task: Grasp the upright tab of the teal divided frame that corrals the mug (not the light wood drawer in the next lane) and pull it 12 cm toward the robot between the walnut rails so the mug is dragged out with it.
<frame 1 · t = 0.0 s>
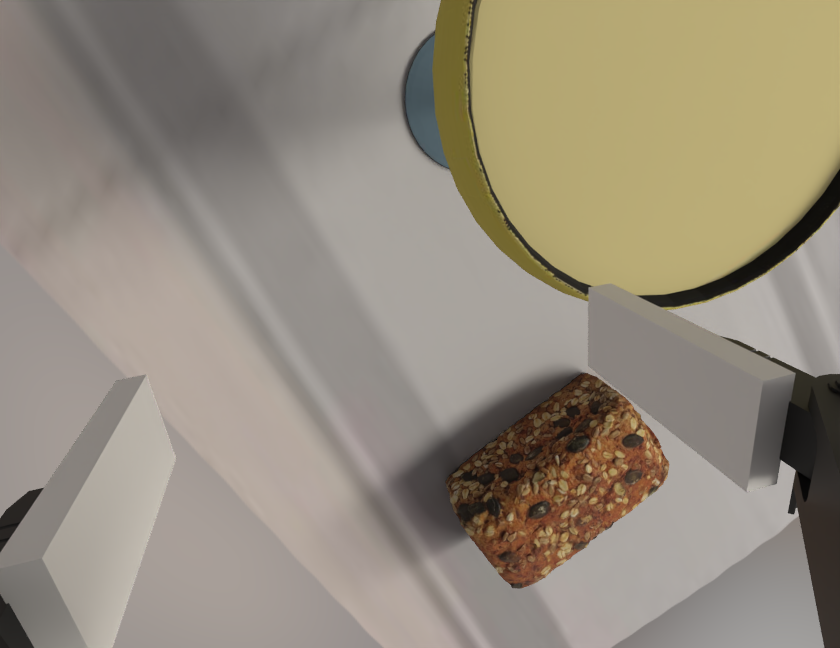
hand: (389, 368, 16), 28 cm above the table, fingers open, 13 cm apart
cocktail glass: (472, 100, 41), on the table
bread: (534, 450, 54), on the table
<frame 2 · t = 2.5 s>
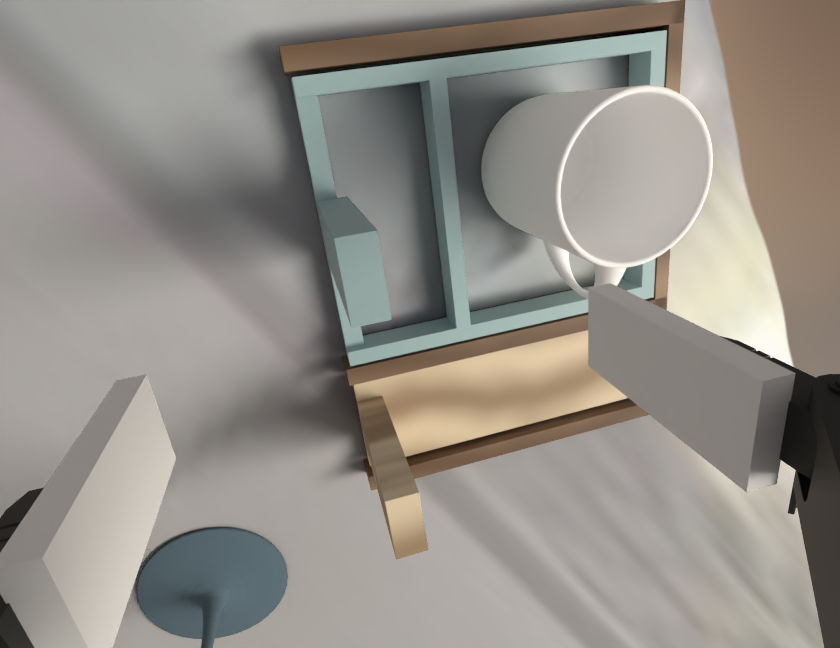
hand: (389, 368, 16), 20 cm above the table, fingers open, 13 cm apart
cocktail glass: (215, 581, 41), on the table
light wood drawer: (537, 422, 35), point 6 cm above the table, slide at 0.0 cm
mug: (537, 190, 36), resting in teal divided frame
lane rails: (499, 261, 37), on the table
teal divided frame: (528, 215, 29), point 6 cm above the table, slide at 0.0 cm
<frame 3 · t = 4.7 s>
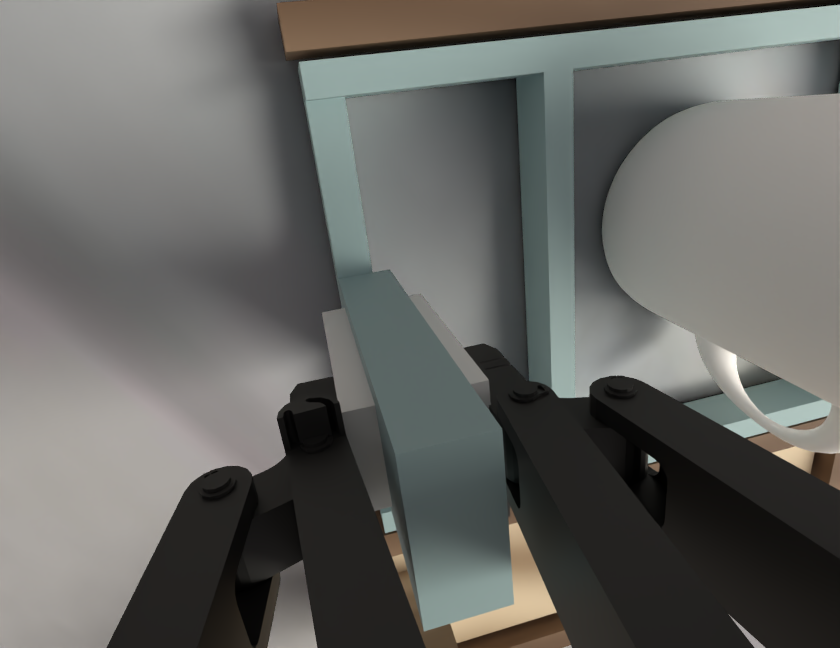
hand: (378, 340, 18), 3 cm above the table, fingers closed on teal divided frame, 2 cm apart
light wood drawer: (681, 623, 22), point 6 cm above the table, slide at 0.0 cm
mug: (680, 250, 23), resting in teal divided frame
lane rails: (615, 357, 24), on the table
teal divided frame: (716, 314, 16), point 6 cm above the table, slide at 0.0 cm, touching gripper
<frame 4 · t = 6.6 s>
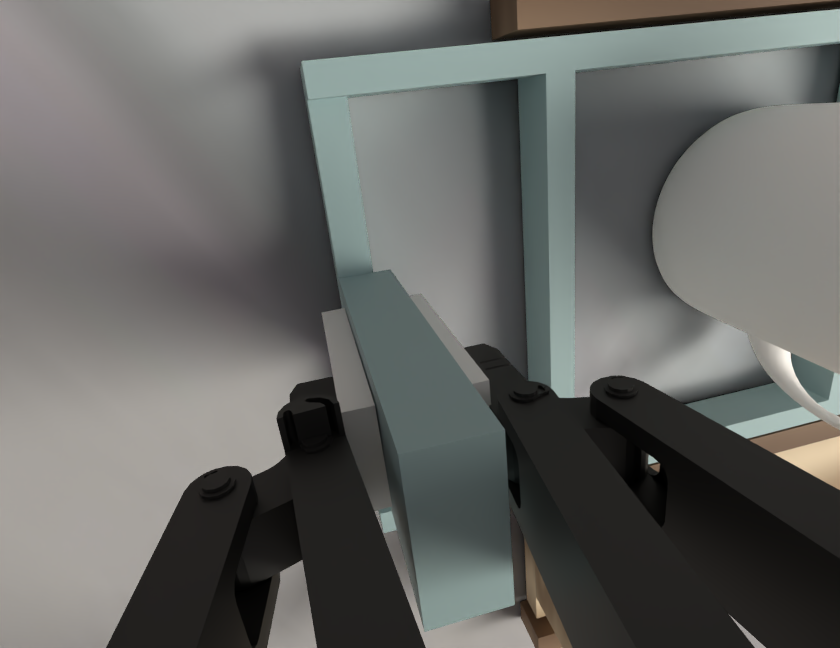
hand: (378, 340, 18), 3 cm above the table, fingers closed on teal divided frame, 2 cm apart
light wood drawer: (817, 580, 23), point 6 cm above the table, slide at 0.0 cm
mug: (728, 250, 23), resting in teal divided frame
lane rails: (744, 330, 25), on the table
teal divided frame: (716, 316, 16), point 6 cm above the table, slide at 6.9 cm, touching gripper, mug
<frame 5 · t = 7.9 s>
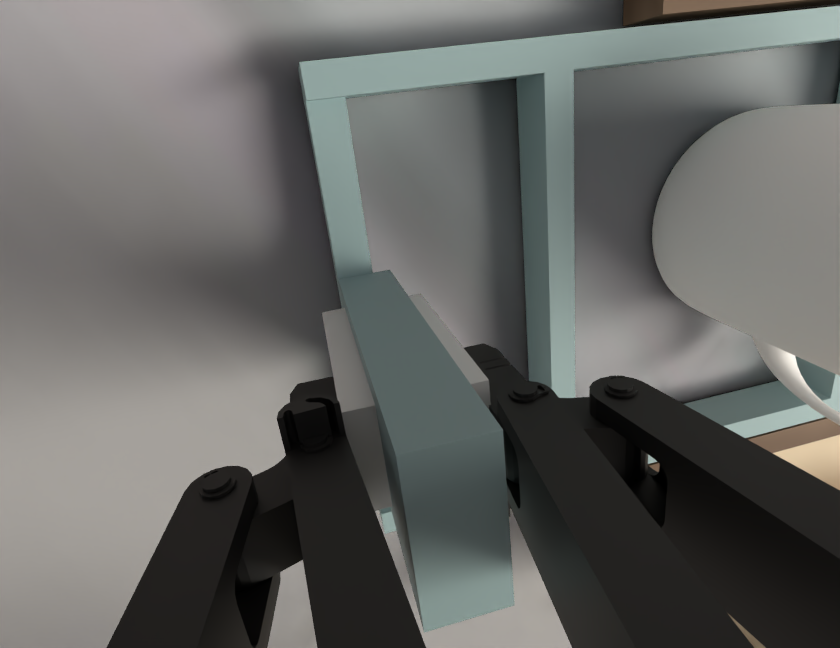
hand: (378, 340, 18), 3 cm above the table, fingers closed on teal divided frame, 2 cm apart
mug: (729, 251, 23), resting in teal divided frame
lane rails: (833, 309, 26), on the table
teal divided frame: (717, 315, 16), point 6 cm above the table, slide at 11.9 cm, touching gripper, mug
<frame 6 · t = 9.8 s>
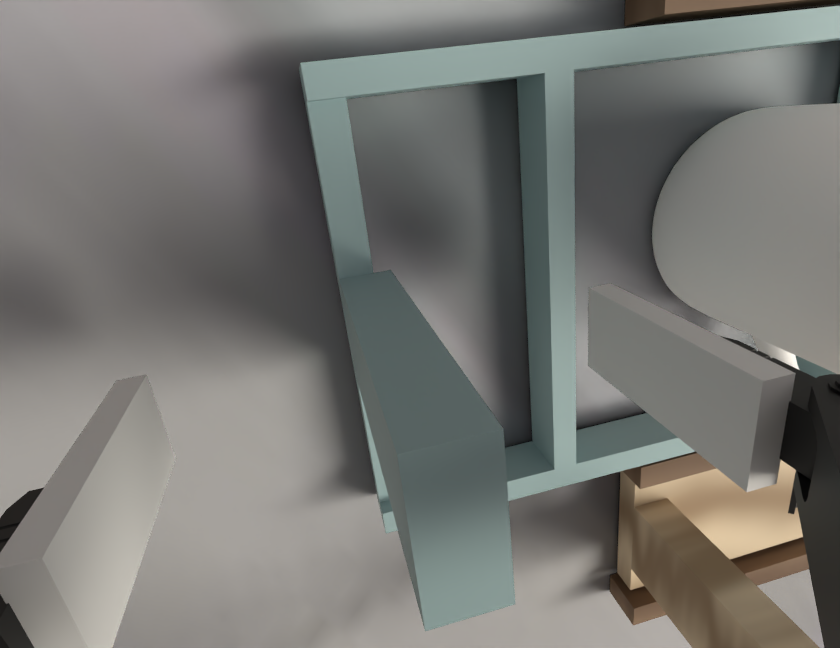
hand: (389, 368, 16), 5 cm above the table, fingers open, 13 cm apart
mug: (729, 250, 24), resting in teal divided frame
lane rails: (835, 308, 26), on the table
teal divided frame: (717, 314, 16), point 6 cm above the table, slide at 12.0 cm
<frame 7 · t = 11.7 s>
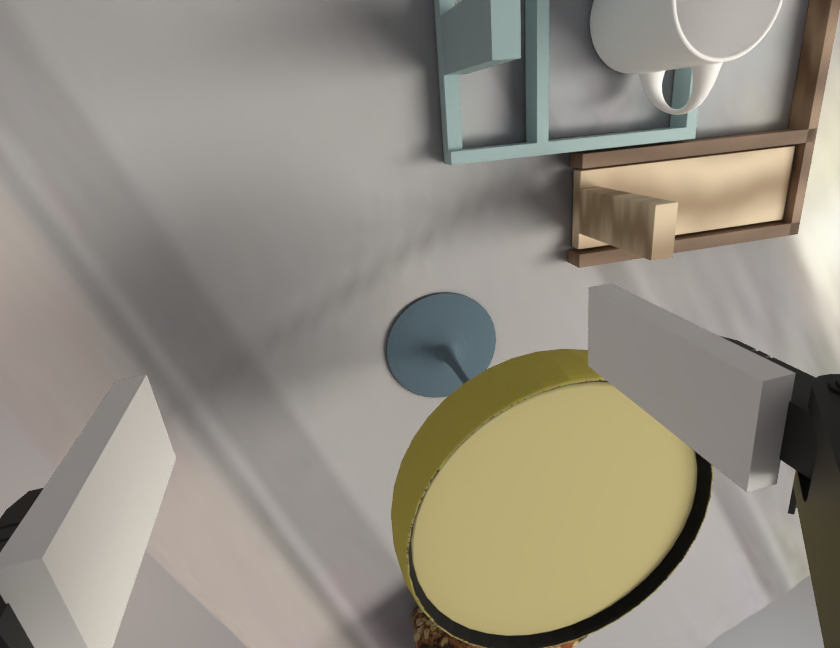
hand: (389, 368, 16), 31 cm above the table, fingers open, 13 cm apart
cocktail glass: (441, 345, 51), on the table
light wood drawer: (726, 203, 45), point 6 cm above the table, slide at 0.0 cm
mug: (632, 42, 45), resting in teal divided frame
lane rails: (693, 87, 47), on the table
bread: (489, 585, 64), on the table
teal divided frame: (609, 27, 38), point 6 cm above the table, slide at 12.0 cm
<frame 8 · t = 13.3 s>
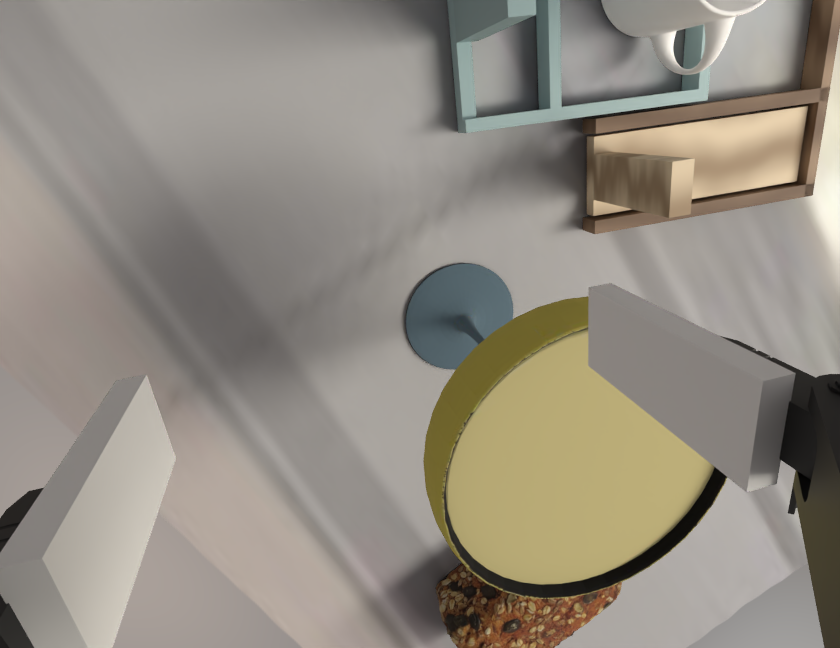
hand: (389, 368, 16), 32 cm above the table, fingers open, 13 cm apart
cocktail glass: (459, 316, 51), on the table
light wood drawer: (740, 163, 45), point 6 cm above the table, slide at 0.0 cm
mug: (641, 5, 45), resting in teal divided frame
lane rails: (704, 49, 47), on the table
bread: (511, 558, 64), on the table
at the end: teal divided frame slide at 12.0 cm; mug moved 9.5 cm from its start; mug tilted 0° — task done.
